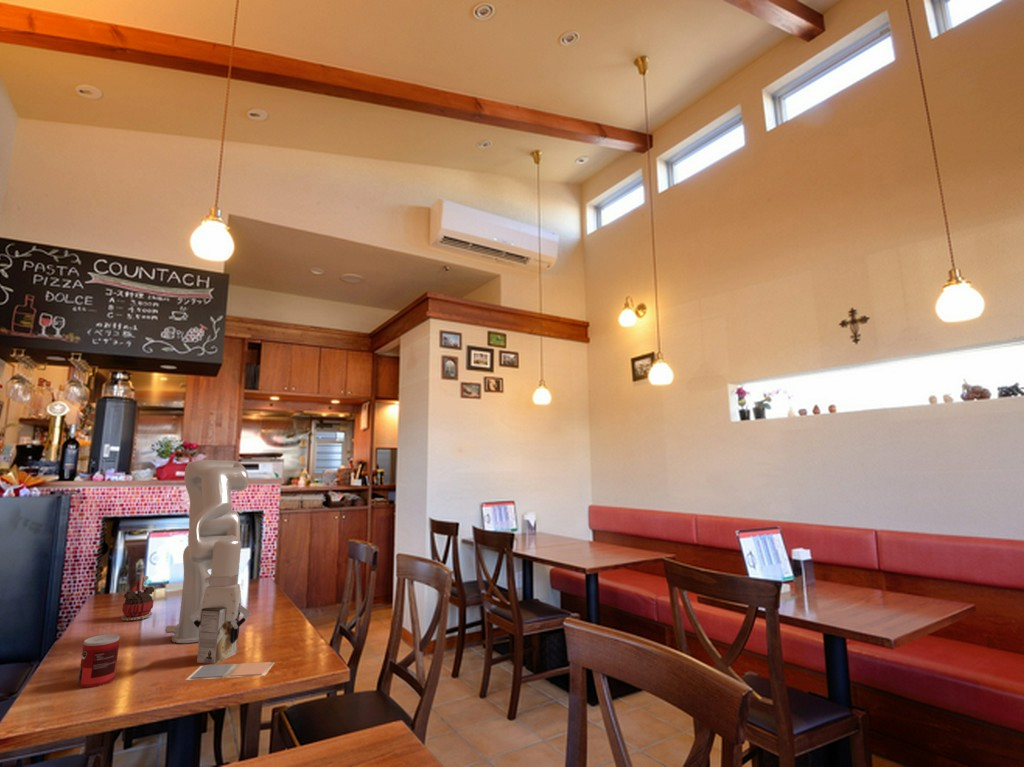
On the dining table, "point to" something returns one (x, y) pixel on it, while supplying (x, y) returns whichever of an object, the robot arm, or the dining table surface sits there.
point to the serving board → (232, 672)
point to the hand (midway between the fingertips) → (218, 642)
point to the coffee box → (215, 636)
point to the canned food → (98, 660)
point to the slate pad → (212, 671)
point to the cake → (138, 600)
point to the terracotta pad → (250, 669)
